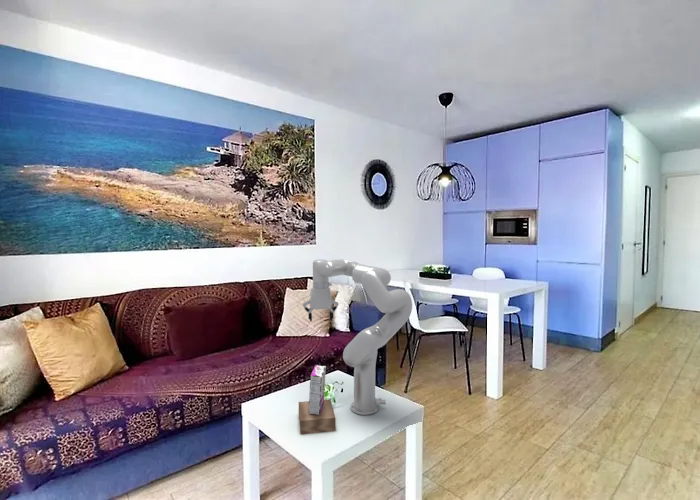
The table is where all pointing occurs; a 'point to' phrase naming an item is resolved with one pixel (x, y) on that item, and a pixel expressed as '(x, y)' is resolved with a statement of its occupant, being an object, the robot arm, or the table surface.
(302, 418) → the walnut block
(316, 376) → the candy bar box
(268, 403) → the table surface
